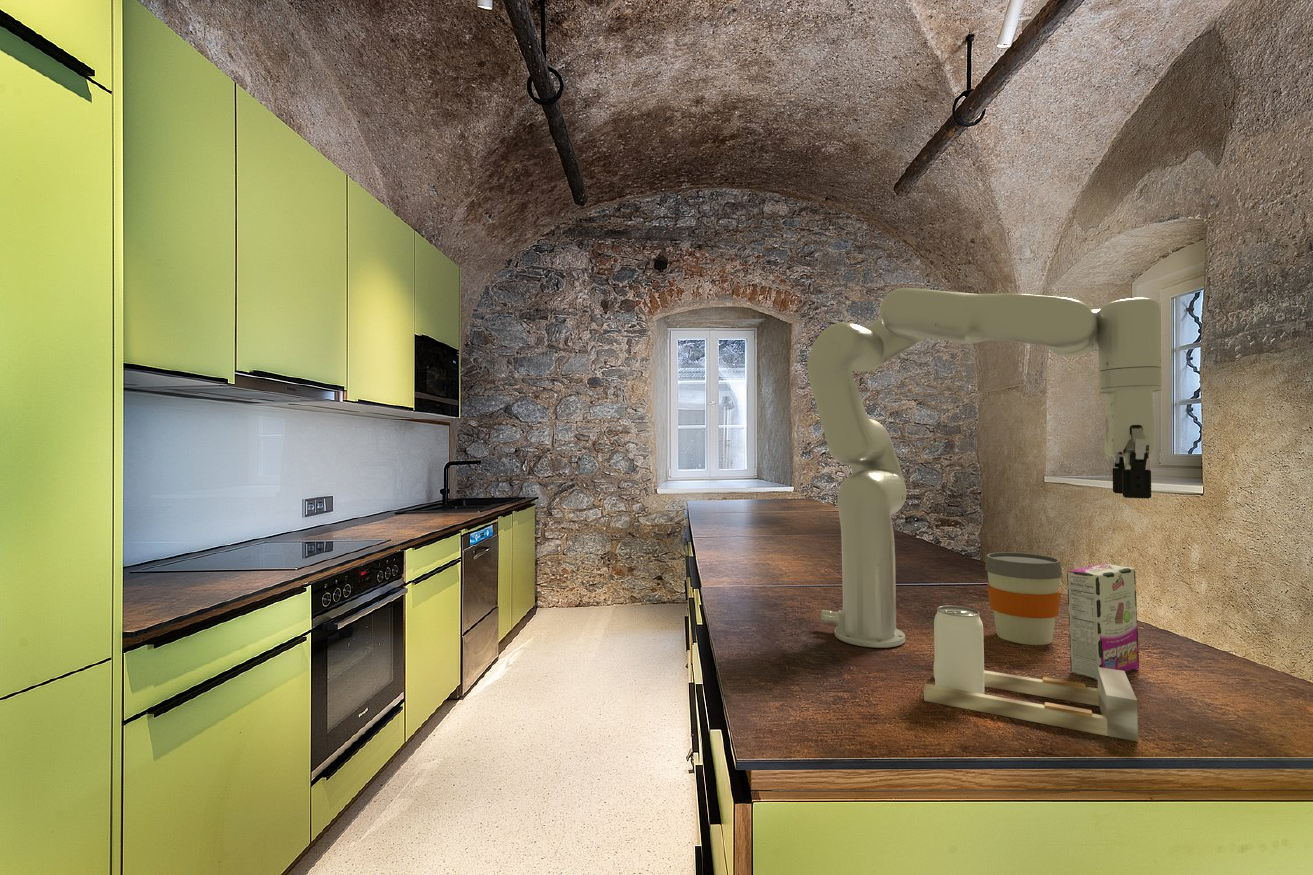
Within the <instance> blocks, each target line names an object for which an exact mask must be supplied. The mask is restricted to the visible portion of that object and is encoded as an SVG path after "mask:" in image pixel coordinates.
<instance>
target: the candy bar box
mask: <svg viewBox="0 0 1313 875" xmlns="http://www.w3.org/2000/svg"><path fill="white" fill-rule="evenodd" d="M1066 581H1067V585H1066V586H1067V607H1068V608H1067V609H1068V632H1069V657H1070V673H1073V674H1075V675H1077V676H1080V675H1081V676H1080V677H1085V678H1087V679H1090V680H1095V681H1098V668H1097V667H1101V668H1108V669H1115V670H1122V671H1125V674H1126V675H1127V674H1129V673H1132V672H1135V671H1137V670H1140V668H1141V667H1140V654H1139V653H1140V652H1139V649H1140V648H1139V631H1138V630H1139V627H1138V626H1139V625H1138V605H1137V582H1136V581H1137V580H1136V568H1135V567H1130V566H1126V565H1125V566H1124V565H1118V564H1111V563H1101V564H1096V565H1091V566H1085V567H1079V568H1076V569H1071V570H1066Z"/></svg>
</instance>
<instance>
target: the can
mask: <svg viewBox="0 0 1313 875" xmlns="http://www.w3.org/2000/svg"><path fill="white" fill-rule="evenodd" d="M936 610H937V612H936V614H935V616H934V618H933V620H934V621H933V632H934V634H933V635H934V636H933V637H934V639H933V641H934V642H933V644H934V662H935V678H934V681H935V682H934V685H935V686H941V687H946V688H952V689H957V690H963V691H969V692H974V693H980V694H985V686H984V670H985V654H984V652H985V651H984V647H985V646H984V645H985V644H984V625H983V621H982V620H981V617H980V611H978V610H977V609H975V608H971V607H967V606H961V605H960V606H959V605H942V606H938V607H937V608H936Z"/></svg>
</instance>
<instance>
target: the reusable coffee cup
mask: <svg viewBox="0 0 1313 875" xmlns="http://www.w3.org/2000/svg"><path fill="white" fill-rule="evenodd" d="M1062 568H1063V567H1062V562H1061V559H1059V558H1057V557H1053V556H1050V555H1045V554H1044V555H1043V554H1037V553H1025V552H1014V551H1013V552H1009V551H1007V552H1003V551H1001V552H999V551H998V552H991V553H988V554H986V557H985V566H984V570H985V571H986V572H987V573H986V574H987V579H988V583H986V587H987V593H988V600H989V604H990V605H989V606H990V609H991V610H992V611H993V618H994V624H995V628H996V630H995V631H996V635H997V636H998V638H1000V639H1002V640H1005V641H1008V642H1011V643H1015V644H1016V643H1017V644H1023V645H1029V646H1030V645H1031V646H1032V645H1033V646H1038V645H1039V646H1045V645H1050V644H1051V643H1052V642H1053V637H1054V630H1055V621H1056V617H1058V616H1059V612H1060V606H1061V605H1060V604H1061V596H1062V591H1061V590H1060V583H1061V578H1062V577H1063V570H1062Z"/></svg>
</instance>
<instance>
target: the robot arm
mask: <svg viewBox="0 0 1313 875" xmlns="http://www.w3.org/2000/svg"><path fill="white" fill-rule="evenodd" d="M1161 312H1162V311H1161V305H1160V303H1159V302H1158V301H1157V300H1155V299H1153V298H1150V297H1134V298H1133V297H1132V298H1125V299H1119V300H1113V301H1110V302H1108V303H1106V304H1104V305H1102V306H1101V308H1099V309H1098V308H1096V309H1092V308H1091V306H1089V305H1088V304H1086V303H1085V302H1083V301H1080V300H1077V299H1073V298H1068V297H1060V296H1052V295H1041V294H1040V295H1039V294H1038V295H1037V294H1029V293H1028V294H1027V293H970V292H962V291H961V292H960V291H959V292H957V291H947V290H935V289H928V288H927V289H926V288H915V287H903V288H901V287H900V288H896V289H894V290H892V291H890V292H889V293H887V294H886V296H884V298H883V300H882V301H881V303H880V306H879V319H878V320H876V321H874V322H873V323H871V324H870V325H868V326H867V327H863V326H861V325H858V324H856V323H853V322H844V321H843V322H837V323H834V324H831V325H830V326H828V327H827V328H825V329H824V330H823V331H821V333H820V334H819V335H818V336H817V338H816V339H815V341H814V342H813V344H812V346H811V348H810V350H809V354H808V358H807V375H808V380H809V385H810V388H811V391H812V394H813V398H814V400H815V404H816V408H817V412H818V415H819V416H818V417H819V418H820V419H819V420H820V422H821V423H820V424H821V427H822V430H823V434H824V437H825V440H826V445H827V449H828V450H829V454H830V455H831V457H832V458H833V459H834V460H835V461H836V462H838V463H840V464H842V465H845V466H850V470H851V472H852V474H849V475H848V476H846V478H845V479H844V480H843V481H842V482H841V485H840V486H839V488H838V492H837V511H838V516H839V524H840V535H841V536H840V537H841V538H840V539H841V570H842V571H841V576H842V581H841V582H842V586H841V587H842V610H841V609H840V610H838V611H832V610H830V609H829V610H828V609H827V610H826V609H822V610H821V613H820V617H821V620H823V622H824V623H832V624H835V625H836V627H835V628H834V636H835V638H836V639H837V640H840V641H842V642H844V643H846V644H850V645H854V646H858V647H865V648H875V649H876V648H877V649H879V648H881V649H883V648H884V649H885V648H895V647H898V646H901V645H903V644H904V643H905V642H906V634H905V633H904V632H903V631H902V630H900V629H898V628H897V604H896V602H897V601H896V600H897V598H896V597H897V596H896V588H897V587H896V550H895V549H896V547H895V546H896V543H895V534H894V528H893V526H894V525H893V521H892V515H894V514H896V513H897V512H899V511H900V510H902V508H903V506H904V505H905V502H906V500H907V486H906V482H905V479H904V475H903V471H902V469H901V466H900V463H899V459H898V456H897V454H896V450H895V447H894V445H893V441H892V438H891V436H890V434H889V432H888V430H887V429H886V427H885V426H884V425H883V424H881V423H880V422H879V421H877V420H875V419H872V418H869V417H868V414H867V411H866V409H865V406H864V402H863V399H862V396H861V392H860V389H859V387H858V385H857V383H856V381H855V379H854V376H853V371H854V372H858V373H859V372H860V373H865V372H869V371H872V370H875V369H878V368H879V367H881V366H883V365H884V364H886V363H887V362H889V361H891V360H892V359H895V358H896V357H898V356H899V355H901V354H902V353H904V352H906V351H908V350H909V349H911V348H913V347H914V346H915V345H917V344H918V343H920V342H921V341H923V340H925V339H931V340H938V341H947V342H951V343H958V344H959V343H960V344H969V345H970V344H973V345H974V344H977V343H982V342H986V341H1003V342H1011V343H1012V342H1013V343H1021V344H1022V343H1023V344H1029V345H1035V346H1043V347H1045V348H1047V350H1049V351H1050V352H1052V353H1053V354H1056V355H1058V356H1064V357H1068V356H1070V357H1072V356H1078V355H1085V354H1088V353H1094V352H1098V353H1097V354H1098V394H1102V395H1106V398H1105V399H1106V400H1105V412H1104V413H1105V414H1104V416H1105V417H1104V420H1105V421H1104V446H1103V447H1104V449H1103V450H1104V451H1103V452H1104V455H1106V456H1107V457H1113V468H1112V492H1113V493H1114V494H1120V495H1121V494H1122V497H1124V498H1126V499H1147V500H1148V499H1151V498H1152V470H1151V463H1150V458H1149V457H1150V456H1151V455H1153V453H1154V446H1155V445H1154V444H1155V442H1154V441H1155V422H1154V420H1155V418H1154V415H1155V414H1154V398H1153V397H1154V396H1153V393H1154V392H1161V391H1163V384H1162V382H1163V381H1162V375H1163V373H1162V371H1163V370H1162V320H1161V319H1162V316H1161V315H1162V313H1161Z"/></svg>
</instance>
